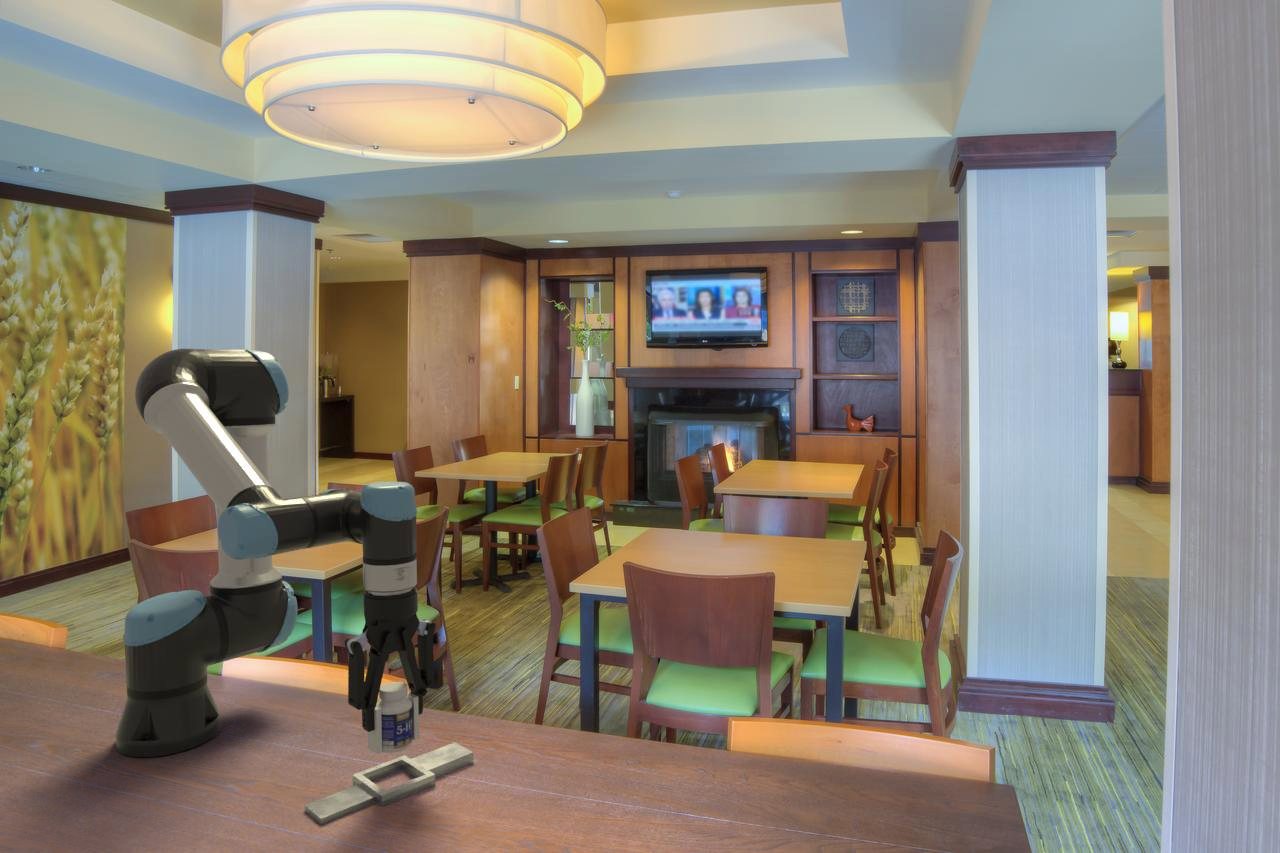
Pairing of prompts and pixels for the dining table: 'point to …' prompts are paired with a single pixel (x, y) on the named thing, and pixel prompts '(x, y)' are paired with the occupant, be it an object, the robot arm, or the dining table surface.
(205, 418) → the robot arm
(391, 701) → the pill bottle
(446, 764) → the square frame bracket
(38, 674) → the dining table surface
